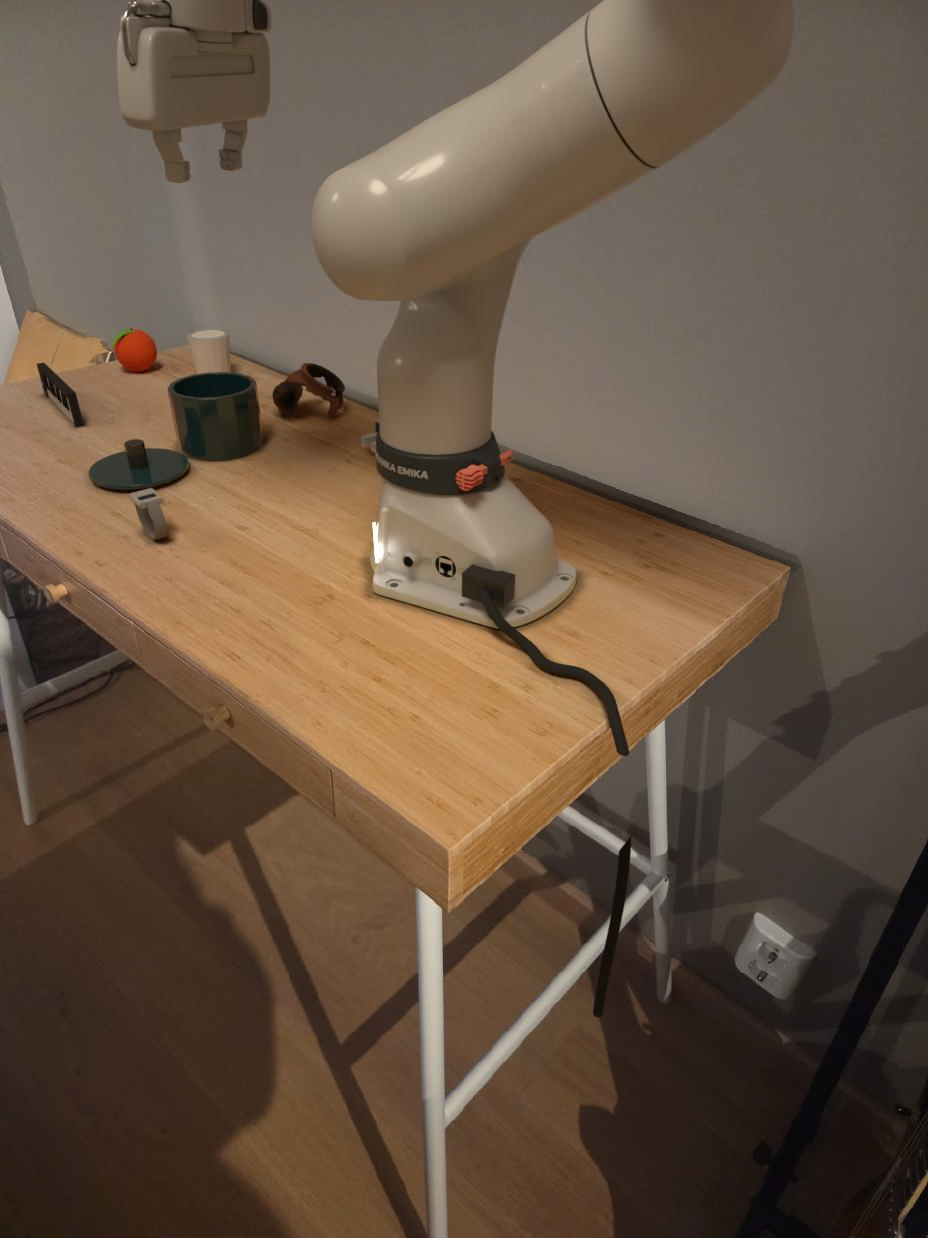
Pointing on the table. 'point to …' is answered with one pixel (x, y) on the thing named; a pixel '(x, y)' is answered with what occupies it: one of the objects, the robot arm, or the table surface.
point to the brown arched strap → (308, 389)
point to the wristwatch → (150, 503)
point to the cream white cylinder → (210, 350)
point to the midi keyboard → (60, 394)
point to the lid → (138, 467)
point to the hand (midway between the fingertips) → (206, 175)
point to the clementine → (135, 350)
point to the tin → (216, 415)
